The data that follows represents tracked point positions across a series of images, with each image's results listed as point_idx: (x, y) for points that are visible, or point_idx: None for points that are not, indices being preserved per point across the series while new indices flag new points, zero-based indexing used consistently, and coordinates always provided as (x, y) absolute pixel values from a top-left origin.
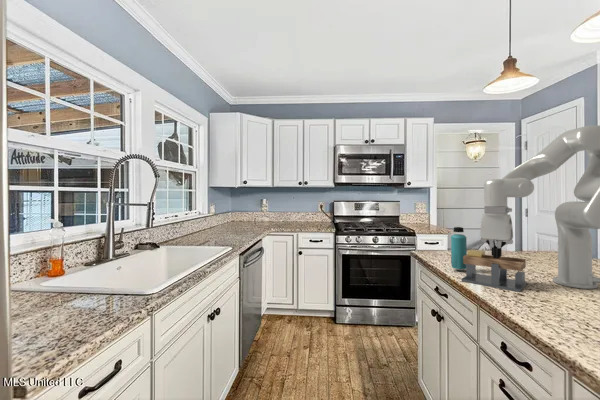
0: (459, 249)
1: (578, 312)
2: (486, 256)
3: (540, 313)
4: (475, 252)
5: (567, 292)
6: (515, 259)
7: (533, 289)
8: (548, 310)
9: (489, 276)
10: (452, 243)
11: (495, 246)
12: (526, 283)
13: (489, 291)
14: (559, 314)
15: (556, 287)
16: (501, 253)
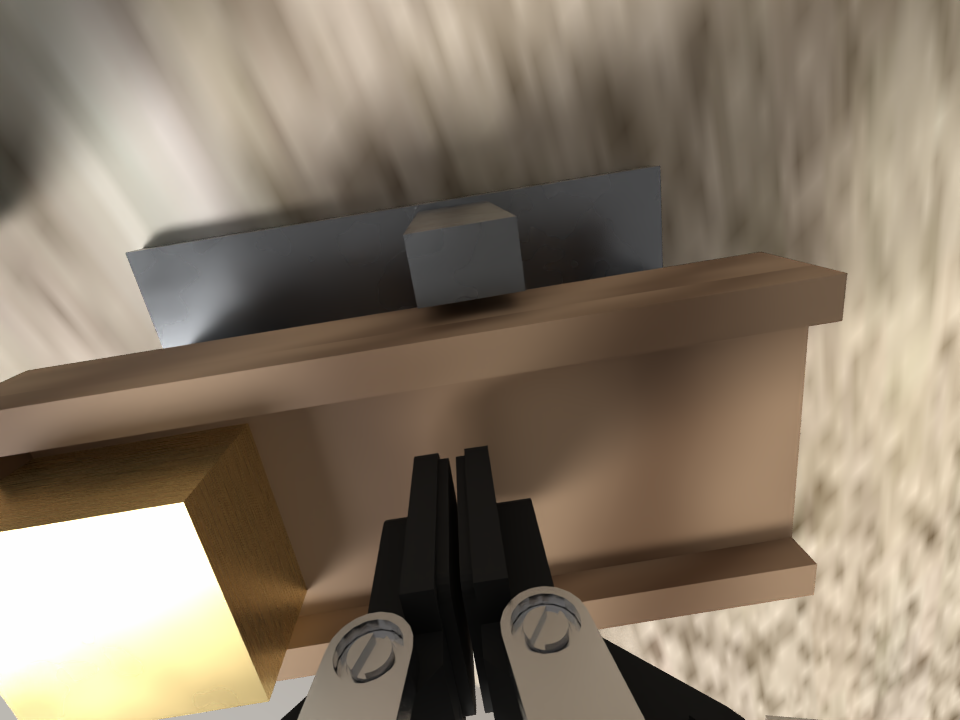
0: None
1: (955, 560)
2: (244, 410)
3: (804, 697)
4: (179, 705)
5: (946, 157)
6: (691, 337)
7: None
8: (832, 638)
9: (331, 262)
10: None
11: (454, 705)
12: (655, 192)
13: None
14: (875, 650)
15: (874, 38)
16: (536, 522)
